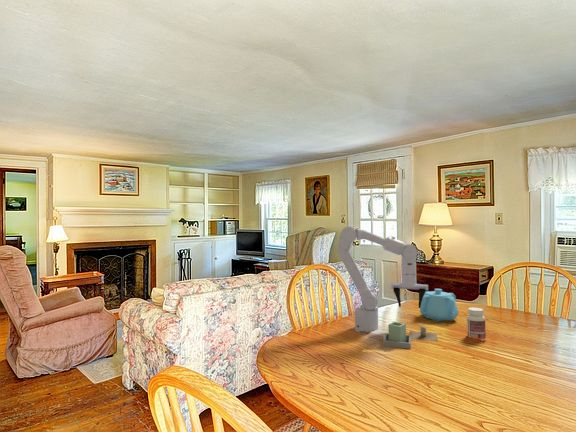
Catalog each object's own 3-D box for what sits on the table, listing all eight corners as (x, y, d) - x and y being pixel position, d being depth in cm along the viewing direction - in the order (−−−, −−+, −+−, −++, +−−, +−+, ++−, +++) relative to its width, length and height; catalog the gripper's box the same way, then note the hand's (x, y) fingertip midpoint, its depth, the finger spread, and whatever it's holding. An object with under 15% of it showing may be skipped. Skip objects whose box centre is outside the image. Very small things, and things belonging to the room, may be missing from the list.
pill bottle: (489, 341, 136) (488, 310, 136) (474, 342, 135) (473, 311, 135) (478, 335, 142) (478, 306, 142) (464, 336, 141) (463, 307, 141)
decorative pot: (415, 320, 165) (414, 290, 165) (424, 312, 178) (424, 284, 178) (454, 325, 155) (453, 294, 156) (461, 317, 169) (460, 287, 169)
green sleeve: (388, 343, 133) (388, 324, 133) (394, 340, 136) (394, 321, 136) (400, 346, 130) (400, 326, 130) (406, 343, 133) (405, 323, 133)
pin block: (409, 341, 137) (409, 329, 137) (409, 333, 146) (409, 322, 146) (438, 343, 133) (437, 332, 133) (436, 335, 143) (436, 324, 143)
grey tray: (383, 348, 130) (382, 341, 130) (385, 339, 139) (385, 333, 139) (410, 350, 127) (410, 343, 127) (411, 342, 136) (411, 335, 136)
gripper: (427, 272, 151) (428, 305, 150) (391, 271, 156) (391, 303, 155) (428, 275, 144) (428, 309, 144) (390, 274, 149) (390, 307, 149)
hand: (409, 306), depth 149 cm, fingers open, 7 cm apart
